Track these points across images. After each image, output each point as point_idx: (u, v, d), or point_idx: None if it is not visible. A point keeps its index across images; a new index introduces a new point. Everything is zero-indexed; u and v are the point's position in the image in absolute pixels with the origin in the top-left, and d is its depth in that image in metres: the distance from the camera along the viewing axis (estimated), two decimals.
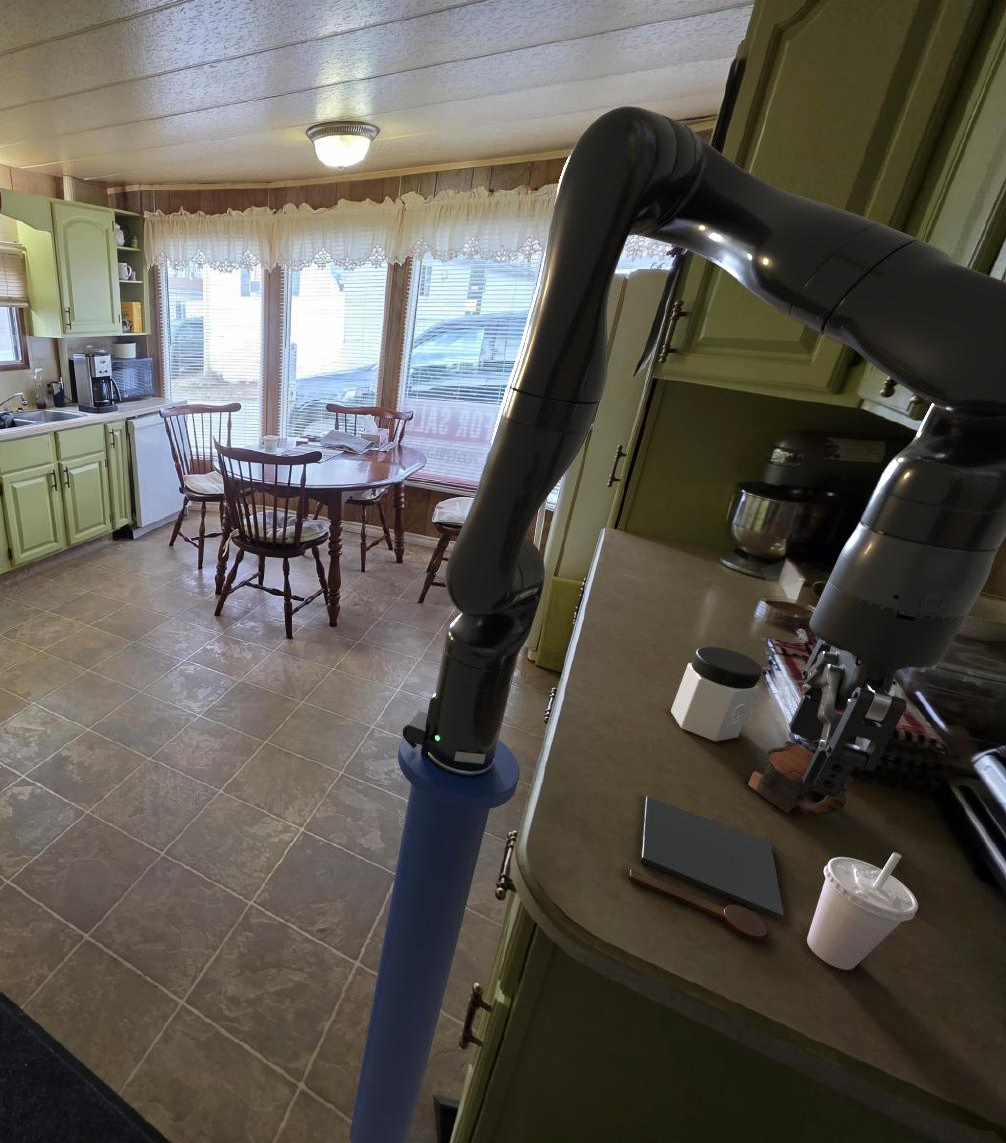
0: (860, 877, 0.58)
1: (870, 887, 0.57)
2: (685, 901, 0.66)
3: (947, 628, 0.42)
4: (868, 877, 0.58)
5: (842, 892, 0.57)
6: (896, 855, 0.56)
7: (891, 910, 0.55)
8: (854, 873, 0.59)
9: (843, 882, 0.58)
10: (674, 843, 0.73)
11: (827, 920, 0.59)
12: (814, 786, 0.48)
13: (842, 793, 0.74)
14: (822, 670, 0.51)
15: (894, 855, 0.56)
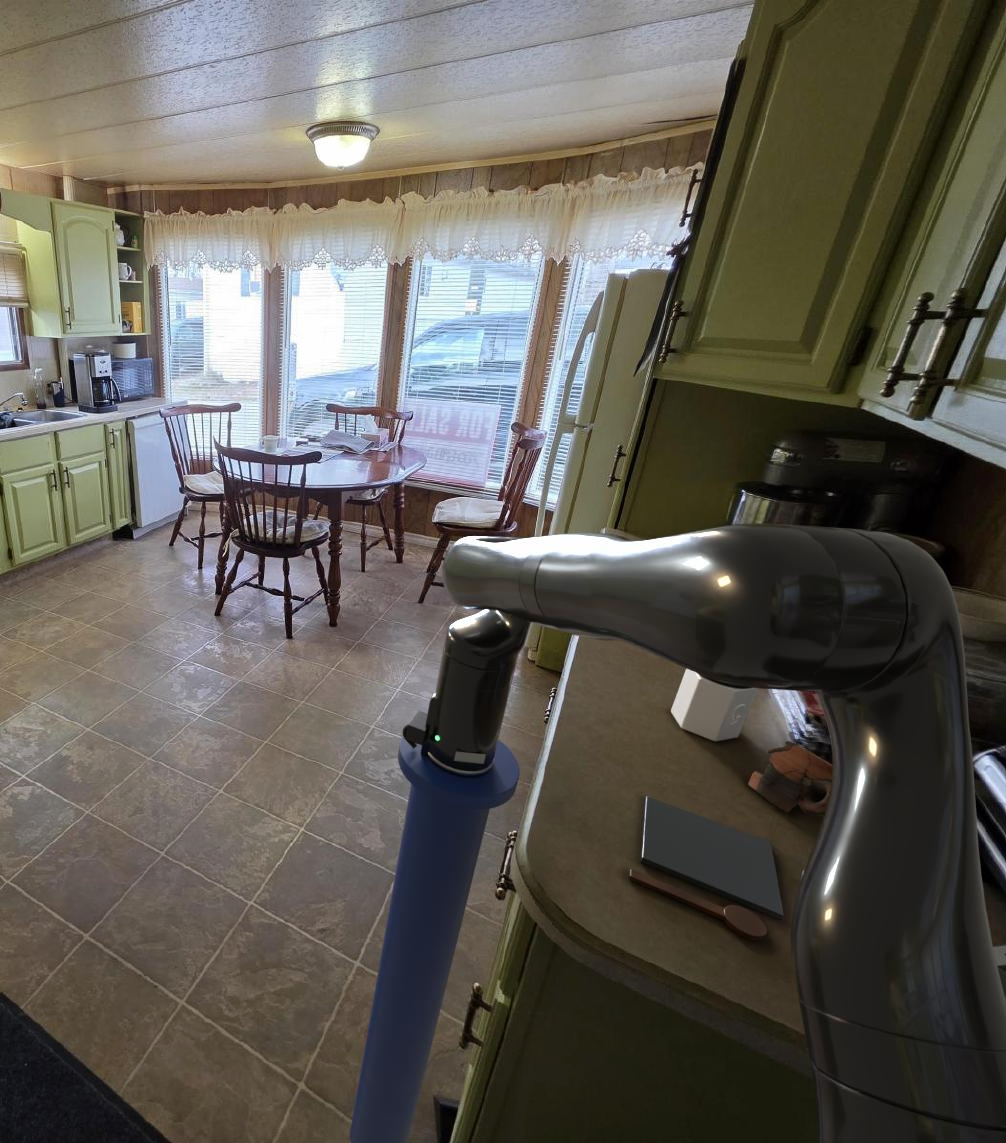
0: None
1: None
2: (685, 901, 0.66)
3: None
4: None
5: None
6: None
7: None
8: None
9: None
10: (674, 843, 0.73)
11: None
12: None
13: None
14: None
15: None
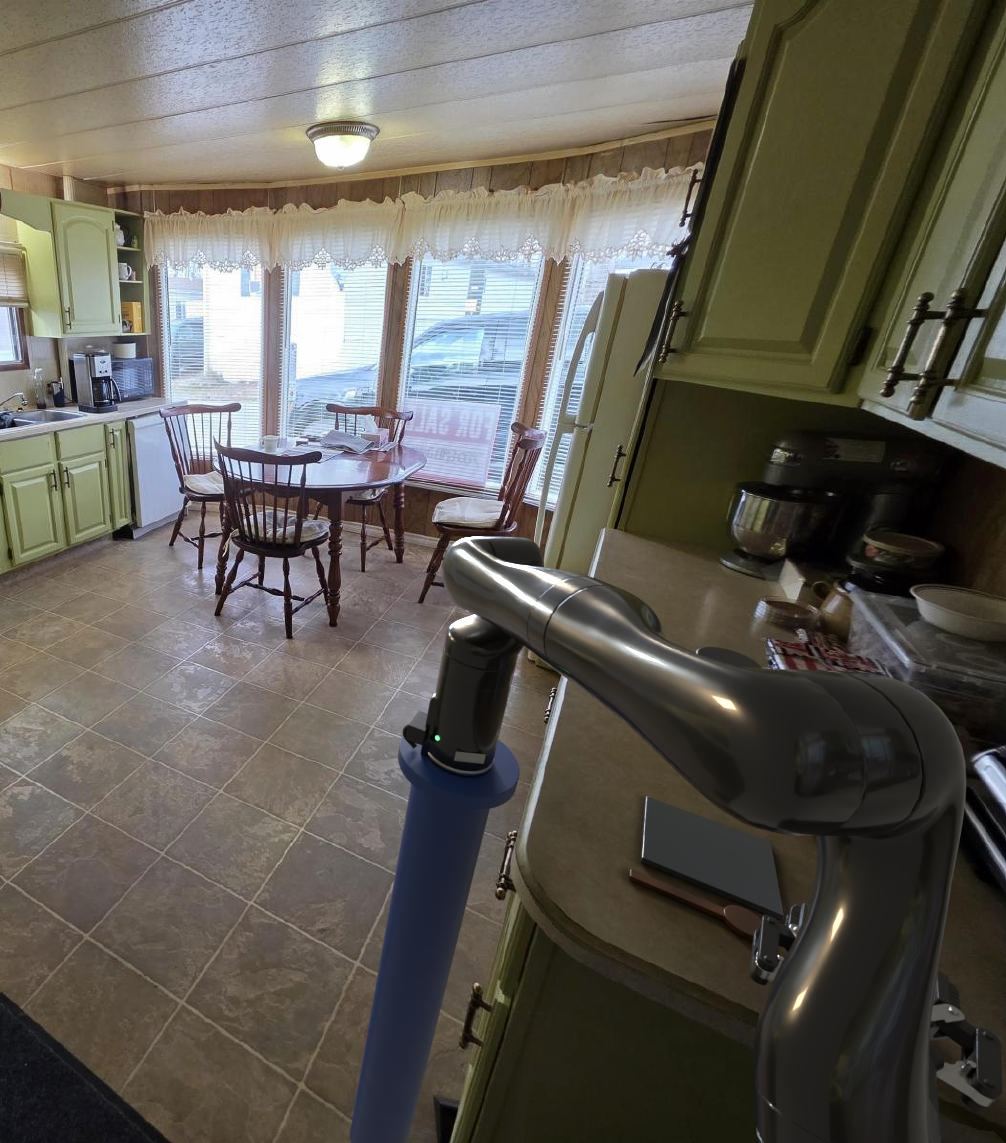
0: None
1: None
2: (685, 901, 0.66)
3: None
4: None
5: None
6: None
7: None
8: None
9: None
10: (674, 843, 0.73)
11: None
12: (793, 906, 0.56)
13: None
14: None
15: None
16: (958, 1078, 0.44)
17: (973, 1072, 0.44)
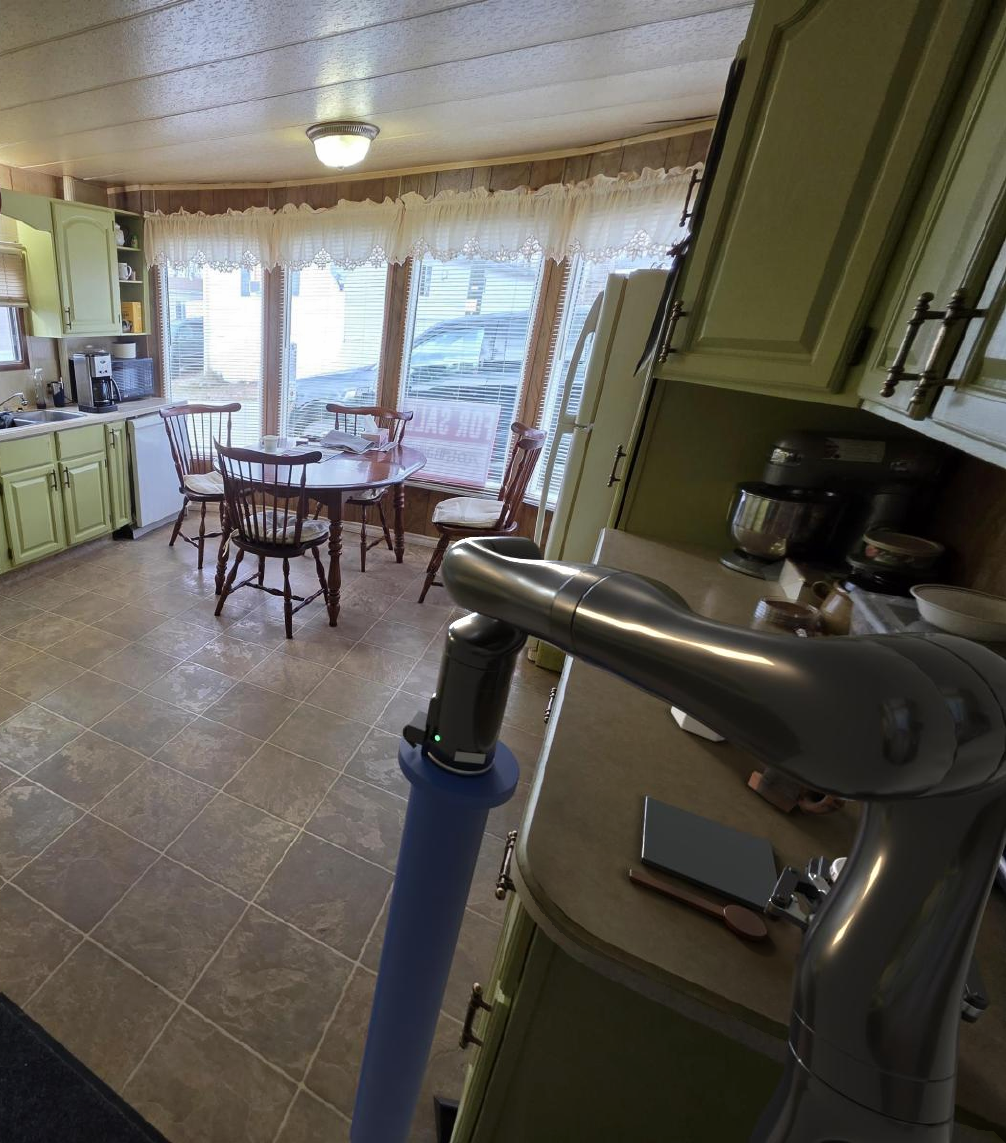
0: None
1: None
2: (685, 901, 0.66)
3: None
4: None
5: None
6: None
7: None
8: None
9: None
10: (674, 843, 0.73)
11: None
12: (812, 858, 0.62)
13: None
14: None
15: None
16: None
17: None
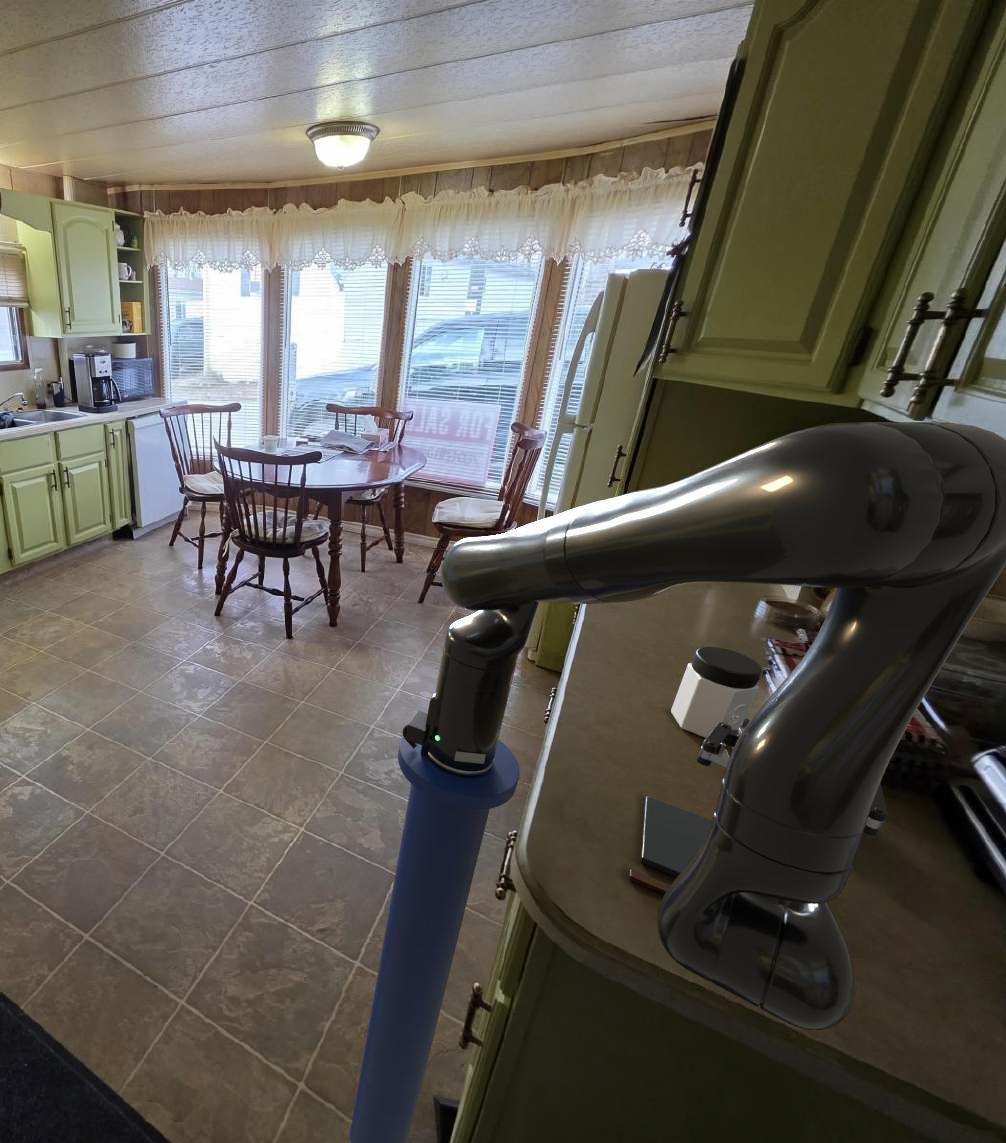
0: None
1: None
2: None
3: None
4: None
5: None
6: None
7: None
8: None
9: None
10: (674, 843, 0.73)
11: None
12: (744, 719, 0.67)
13: None
14: None
15: None
16: None
17: None
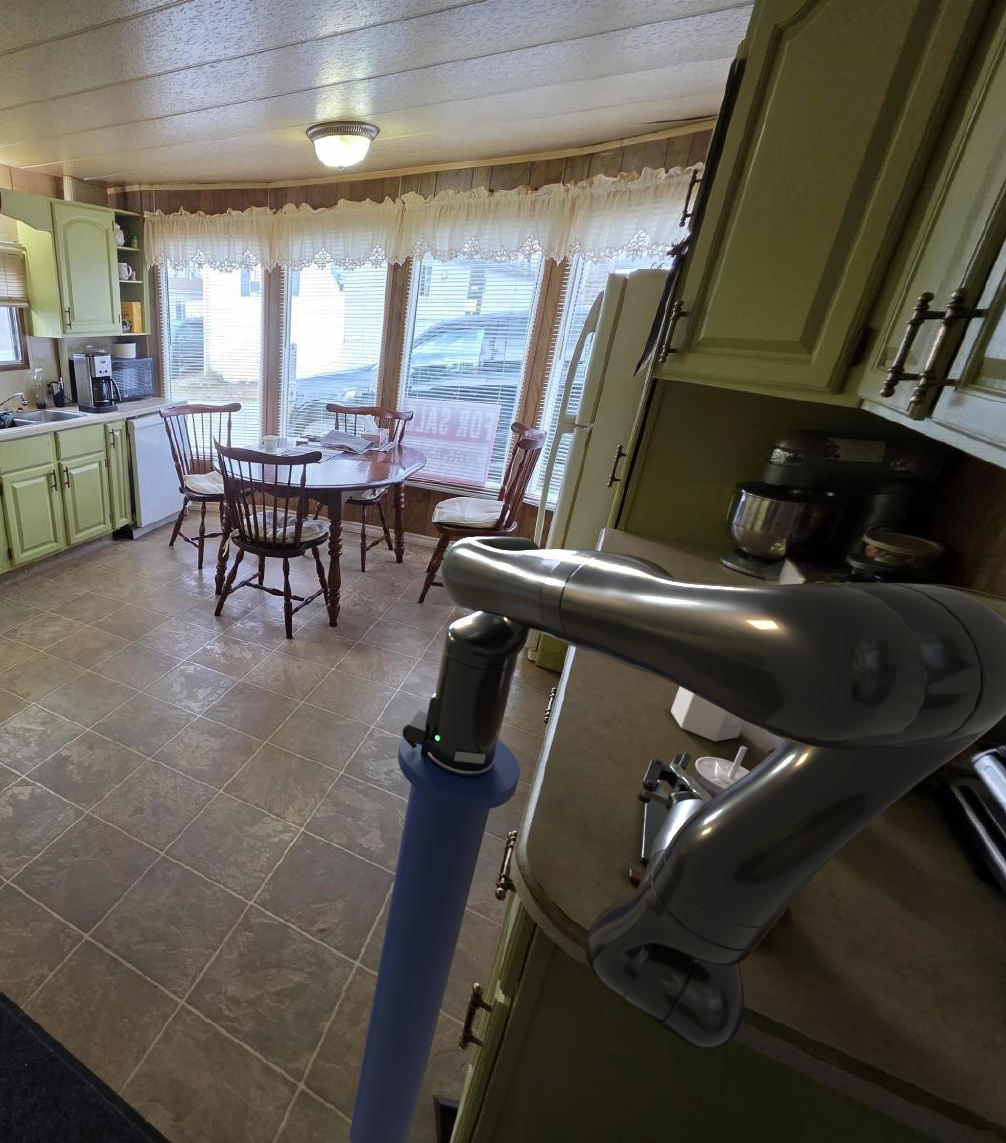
0: (719, 770, 0.71)
1: (725, 776, 0.69)
2: None
3: None
4: (726, 770, 0.71)
5: (703, 781, 0.70)
6: (743, 748, 0.68)
7: None
8: (716, 767, 0.71)
9: (705, 774, 0.70)
10: None
11: None
12: (677, 754, 0.74)
13: None
14: None
15: (741, 748, 0.68)
16: None
17: None
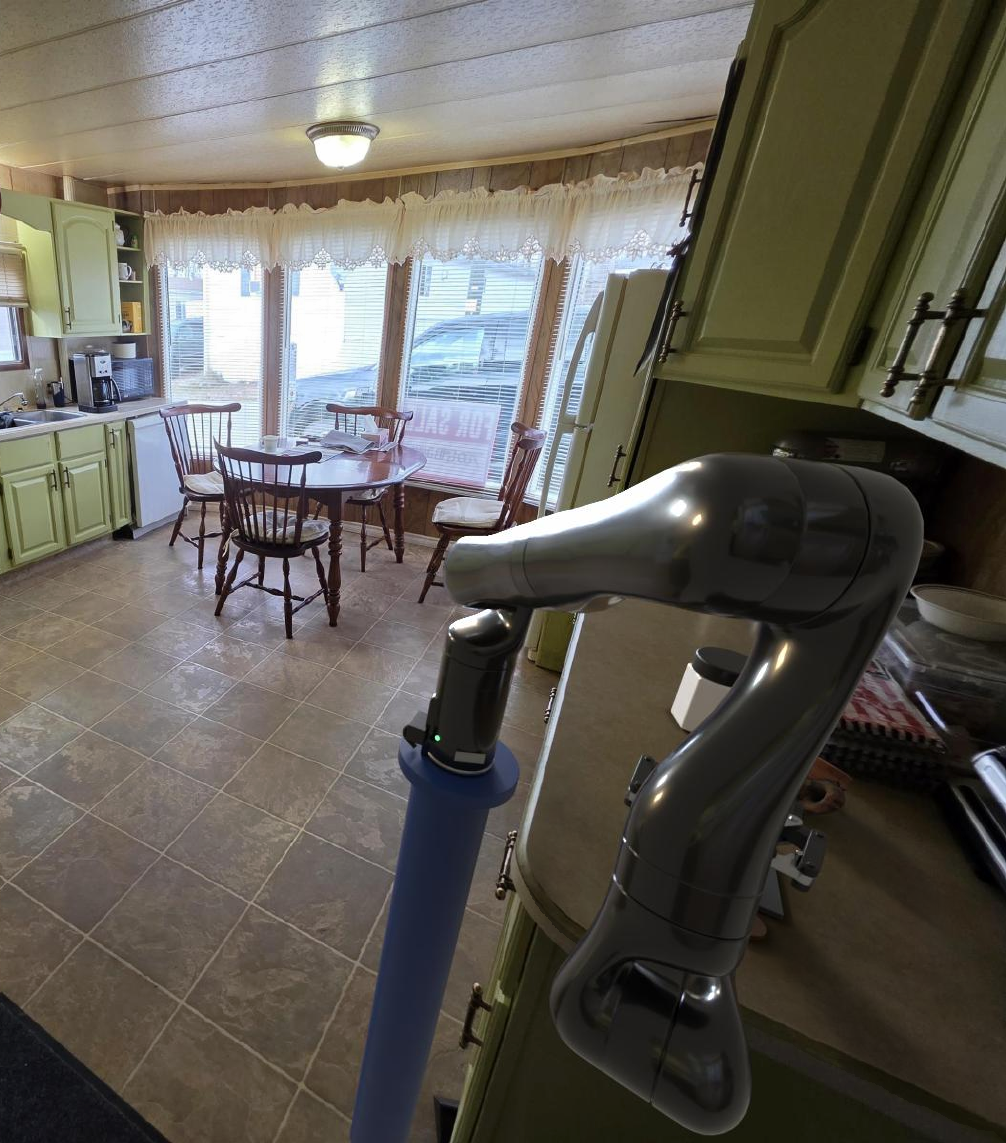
0: None
1: None
2: None
3: None
4: None
5: None
6: None
7: None
8: None
9: None
10: None
11: None
12: (672, 750, 0.62)
13: (842, 793, 0.75)
14: None
15: None
16: (787, 864, 0.50)
17: (800, 859, 0.50)
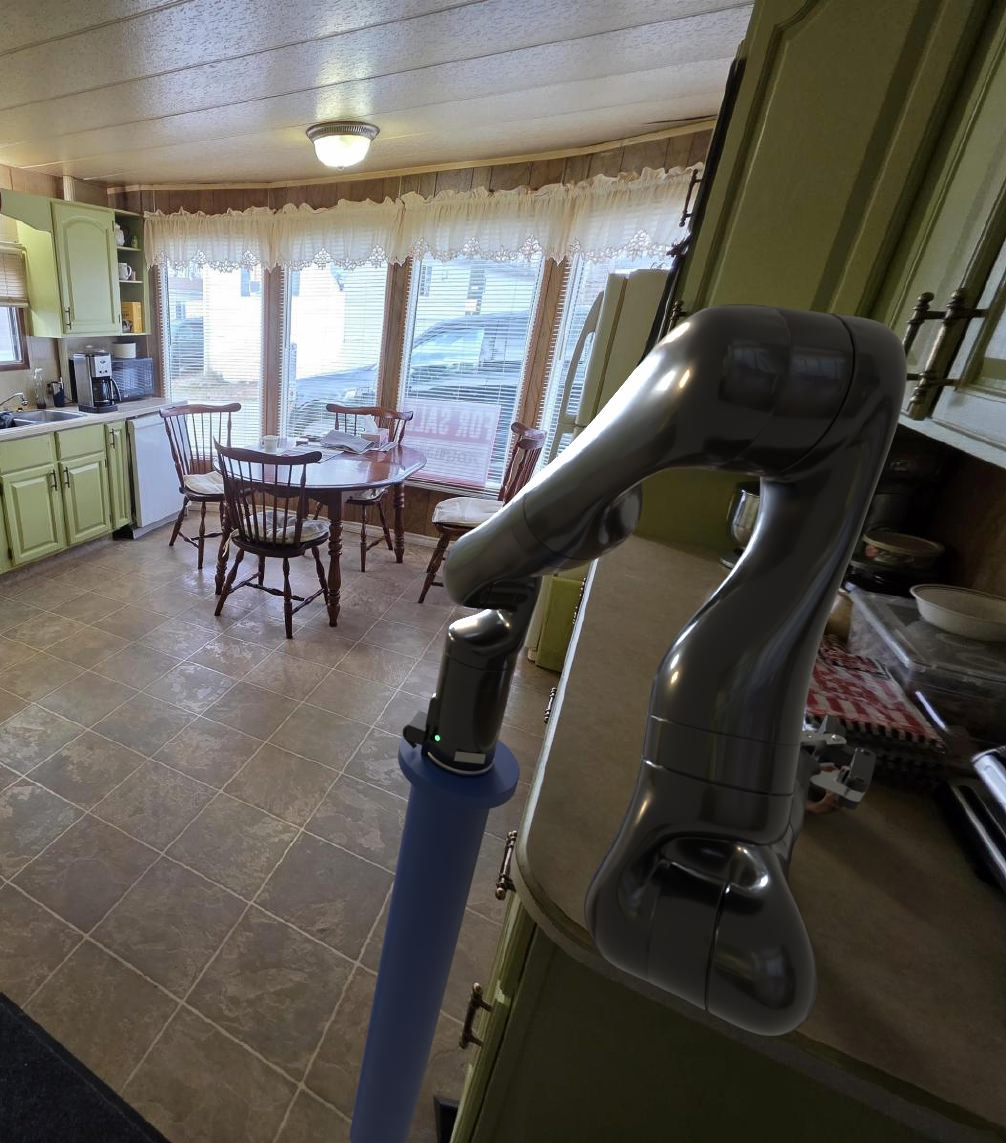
0: None
1: None
2: None
3: None
4: None
5: None
6: None
7: None
8: None
9: None
10: None
11: None
12: None
13: None
14: None
15: None
16: (832, 780, 0.46)
17: (847, 775, 0.46)
